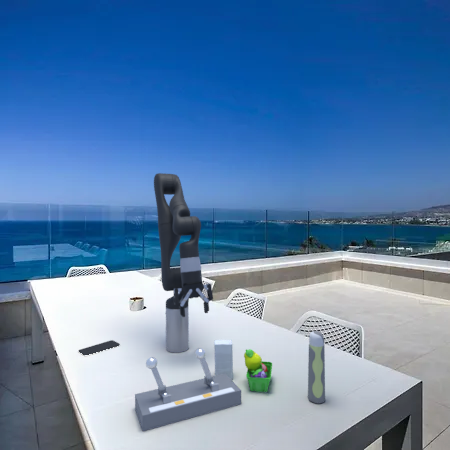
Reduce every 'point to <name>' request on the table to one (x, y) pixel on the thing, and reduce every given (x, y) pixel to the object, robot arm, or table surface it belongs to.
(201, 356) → the switch far
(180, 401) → the switch console
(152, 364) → the switch near
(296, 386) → the table surface
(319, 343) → the camo grip handle
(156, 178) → the robot arm
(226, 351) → the skincare box
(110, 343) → the phone
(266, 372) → the fruit basket
